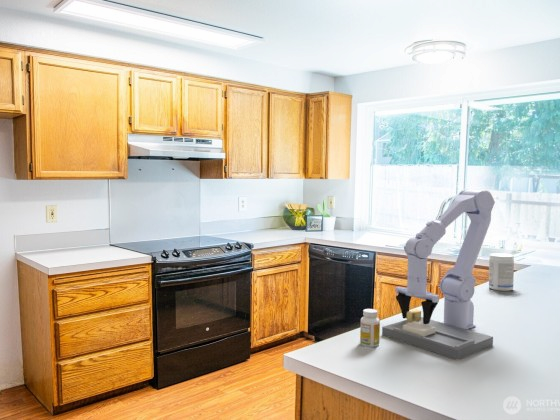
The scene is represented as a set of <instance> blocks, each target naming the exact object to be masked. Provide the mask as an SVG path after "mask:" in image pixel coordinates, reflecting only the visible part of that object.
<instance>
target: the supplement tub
mask: <svg viewBox="0 0 560 420" xmlns="http://www.w3.org/2000/svg"><path fill="white" fill-rule="evenodd" d="M488 259H489V261H488V288H490V289H492V290H493V291H498V292H499V291H501V292H509V291H512V290H513V289H514V275H515V274H514V271H515V269H514V268H515V267H514V266H515V260H514V259H515V258H514V255H513V254H509V253H500V252H499V253H498V252H497V253H496V252H495V253H490V254H489V257H488Z"/></svg>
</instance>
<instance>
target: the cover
mask: <svg viewBox="0 0 560 420" xmlns="http://www.w3.org/2000/svg"><path fill="white" fill-rule="evenodd" d="M403 330H404V331H407V332H411V333H414V334H417V335H420V336H423V337H424V336H427V335H430V334H433V333H436V327H433V326H430V325H426V324H423V323H419V322H416V321H415V322H412V323H408V324H405V325H403Z"/></svg>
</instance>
